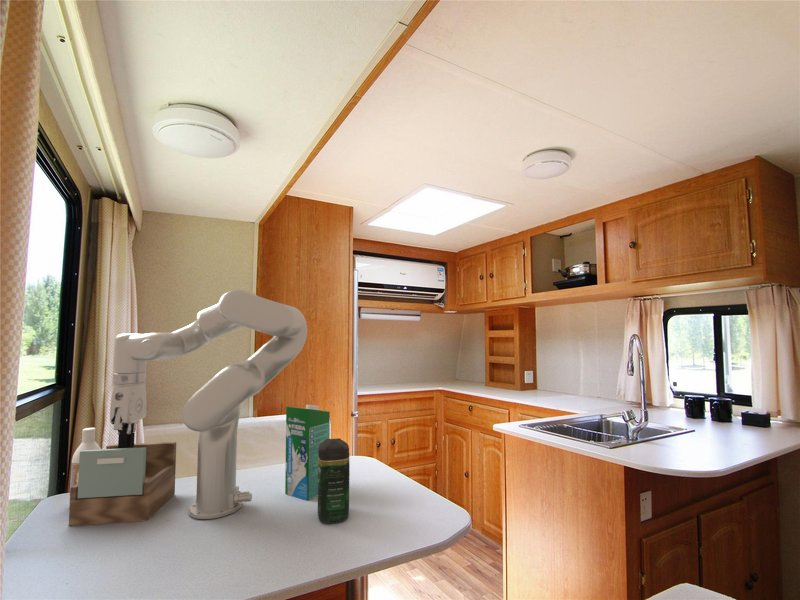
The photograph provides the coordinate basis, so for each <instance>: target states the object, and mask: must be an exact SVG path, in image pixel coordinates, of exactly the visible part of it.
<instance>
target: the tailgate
mask: <svg viewBox="0 0 800 600" xmlns="http://www.w3.org/2000/svg"><path fill="white" fill-rule="evenodd" d="M145 467H146V447H142V448H120V449H106V448H104V449H103V448H101V449H98V450H82V451H80V458H79V477H78V496H77V498H92V497H108V496H125V495H141V494H143V493H144V483H145Z"/></svg>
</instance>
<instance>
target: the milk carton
mask: <svg viewBox="0 0 800 600" xmlns="http://www.w3.org/2000/svg"><path fill="white" fill-rule="evenodd" d="M285 407H286V409H285V478H284V479H285V482H284V483H285V485H284V486H285V487H284V488H285V490H284V493H285V495H288V496H290V497H295V498H298V499H302V500H305V501H310V500H312V499H314V498H315V497H318V452H319V450H318V447H319V445H320V444H321V443H322V442H323V441H325V440H326V439H331V437H330V436H331V435H330V430H331V429H330V424H331V423H330V422H331V421H330V420H331V419H330V418H331V416H330V415H331V414H330V413H331V411H327V410H320V406H319V405H313V404H306V405H305V408H303V407H295V406H288V405H286V406H285Z"/></svg>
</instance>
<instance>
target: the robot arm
mask: <svg viewBox="0 0 800 600" xmlns="http://www.w3.org/2000/svg"><path fill="white" fill-rule="evenodd" d="M241 327H245V328H248V329H249V330H250V329H251V330H254V331H257V332H260V333H262V334H266V335H269V336H272V338H270V339H269V340H268V341H266V343H264V344H263V345H262V346H261V347H260V348H259V349H257V351H255V352H254V353H252V355H251V356H250V357H248V358H247V359H245V360H243V361H239V362H236V363H232V364H230V365H227V366H225V367H224V368H222V369H221V370H220V371H218V372H217V373H216V374H215V375H214V376H212V378H210V379H209V380H208V381H207V382H205V384H203V385H202V386H201V387H200V388H199V389H198V390H197V391H196V392H194V394H192V395H191V396H190V397H189V398H188V400H187V401H186V402H185V404H184V406H183V409H182V413H181V415H182V422H183V423H184V425H185V426H186V427H187V429H189V430H191V431H194V432H199V434H198V440H197V462H196V464H197V467H196V468H197V469H196V499H195V500H196V501H195V502H194V503H193V504H192V505H191V506H190V507H189V509H188V510H189V511H188V513H189V514H188V515H189V516H190V517H191V518H193V519H197V520H198V519H199V520H211V519H217V518H222V517H225V516H229V515H231V514H233V513H235V512H236V511H238V510H239V509H240V508H242V503H247V502H252V499H253V493H250V491H249V490H247V491H241V490H240V486H238V485H237V448H238V429H239V428H238V427H239V419H240V413H241V404H242V403H244V401H246V400H247V399H249V398H250V399H251V398H252V397H254V396H255V395H257V394H259V393H260V392H261V391H262V390H263V389H264V388H265V387H266V386H267V385H268V384H270V382H271V381H273V380H274V379H275V378H276V377H277V376H278V375H279V374H280V373H281V372H282V371H283V370H284V369H285V368H286V367H287V366H288V365H289V364H290V363H291V362H292V361H293V360H295V359H296V357H297V356H298V355H299V354H300V353H301V351H302V350H303V348H304V346H305V343H306V341H307V336H308V324H307V319H306V318H305V315H304V314H303V312H301V310H299V309H298V308H296V307H295V306H292V305H289V304H284V303H281V302H277V301H273V300H271V299H268V298H265V297H262V296H258V295H257V294H255V293H253V292H250V291H247V290H244V289H232V290H229V291H226V292H225V293H224V294H222V296H221V297H220V299H219V301H218V303H216V304H213V305H211V306H209V307H207V308H204V309H202V310H200V311H198V313H197V314H196V320H194V321H193V322H192V323H190V324H189V325H185V326H184V327H182V328H179V329H176V330H174V331H172V332H149V333H119V334H117V335H116V336H115V339H114V349H113V350H114V351H113V367H112V384H111V386H113V389H112V393H111V398H110V399H111V400H110V407H109V423H110V425H113V430H114V431H117V435H118V439H117V441H118V443H117V445H118V449H120V448H133V447H134V444H135V436H136V435H135V432H136V430H137V424H138V423H139V422H140V421H141V420H142V419H145V418H146V417H147V411H148V410H147V401H148V400H147V386H146V383H147V380H146V379H147V363H148V362H155V361H156V362H157V361H163V360H173V359H177V358H180V357H182V356H185V355H187V354H189V353H192V352H193V351H196V350H198V349H201V348H202V347H204V346H206V345H207V344H209V343H211V342H213V340H215V339H218V338H219V337H221V336H223V335H226V334H229V333H231V332H233V331H235V330H238V329H240V328H241Z"/></svg>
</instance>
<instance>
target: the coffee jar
mask: <svg viewBox="0 0 800 600" xmlns="http://www.w3.org/2000/svg"><path fill="white" fill-rule="evenodd" d="M318 450H319V452H318V496H317V517H318V520H319V521H320V523H321V522H322V523H326V524H338V523H340V522H343V521H347V519H348V518H349V516H350V475H351V473H350V468H351V467H350V446H349V444H348V442H347V441H345V440H343V439H341V438H330V439H326V440H325V441H323V442H322V443H321V444H320V445H319V447H318Z"/></svg>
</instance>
